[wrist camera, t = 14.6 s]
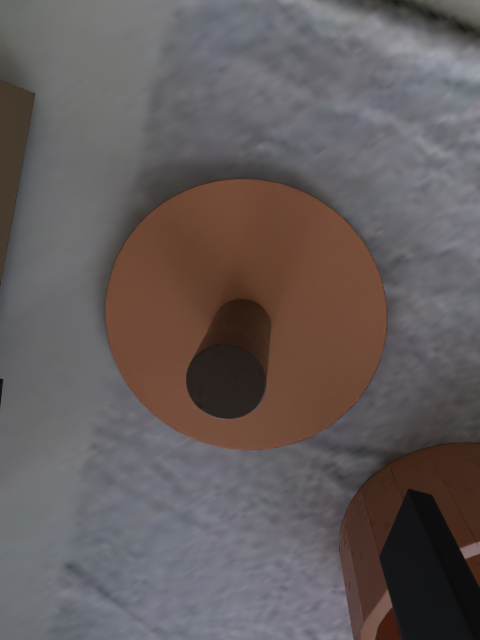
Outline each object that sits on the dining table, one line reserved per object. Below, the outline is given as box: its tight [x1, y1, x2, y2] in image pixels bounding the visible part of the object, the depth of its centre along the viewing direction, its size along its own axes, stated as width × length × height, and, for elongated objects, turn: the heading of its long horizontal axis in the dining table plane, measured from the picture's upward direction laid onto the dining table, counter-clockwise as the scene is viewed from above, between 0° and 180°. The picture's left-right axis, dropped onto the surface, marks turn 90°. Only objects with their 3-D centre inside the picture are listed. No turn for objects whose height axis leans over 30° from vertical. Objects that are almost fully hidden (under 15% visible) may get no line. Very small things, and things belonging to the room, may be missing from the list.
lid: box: [105, 178, 387, 450], centre depth 24 cm, size 18×18×10 cm
